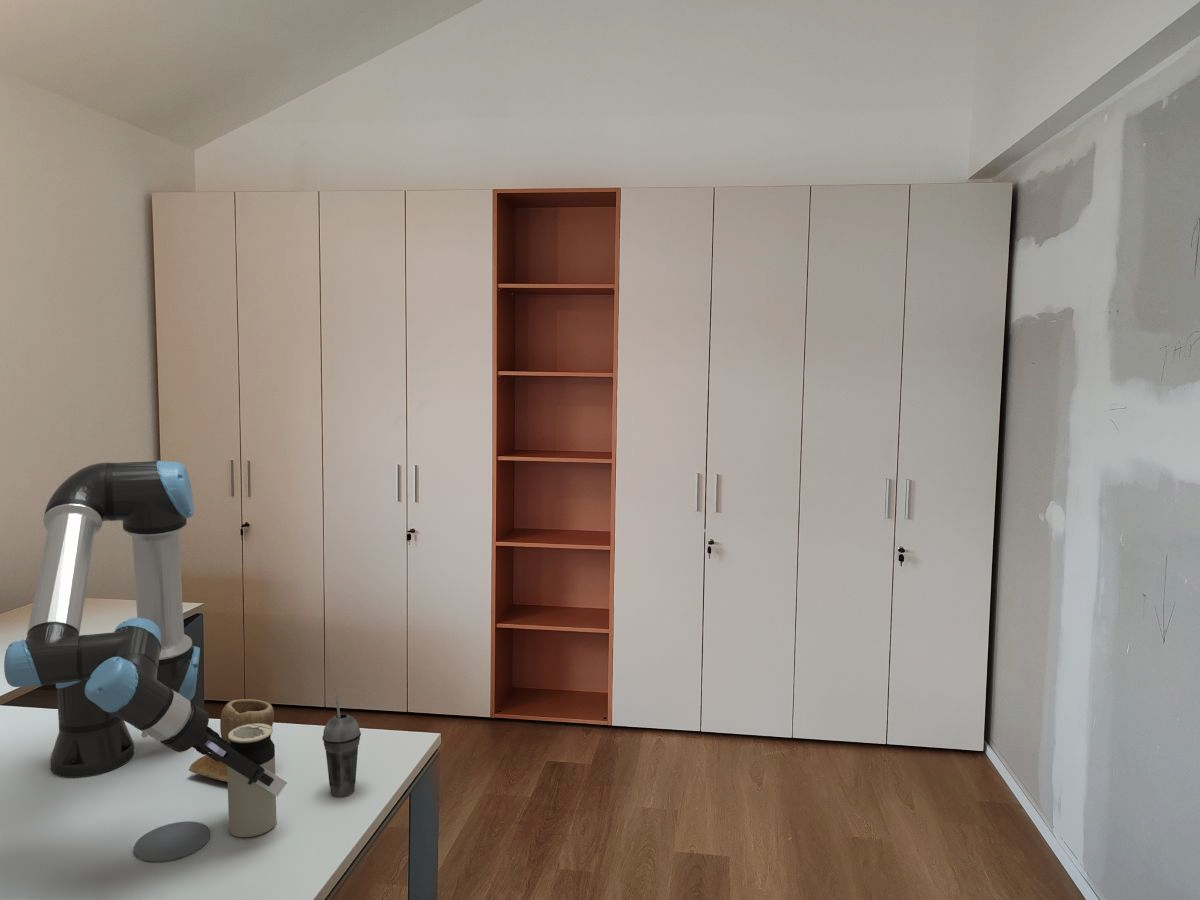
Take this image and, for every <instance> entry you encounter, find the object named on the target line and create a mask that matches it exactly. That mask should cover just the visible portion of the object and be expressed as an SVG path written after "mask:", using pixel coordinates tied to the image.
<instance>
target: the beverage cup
mask: <svg viewBox="0 0 1200 900" xmlns="http://www.w3.org/2000/svg"><path fill="white" fill-rule="evenodd" d="M335 704H336V713H337V714H336V715H335V716H333V717H331V718H330V719H329V720H328V722H327V723H326V724H325V726H324V729H323V734H322V737H321V738H322V741H323V747H324V750H325V755H326V765H327V766H326V767H327V774H328V784H329V791H330V796H332V797H334V798H345V797H344V796H346V797H349V796H351V795H353V794H354V793H353V792H355V787H356V780H357V778H356V777H357V766H358V755H359V753H358V751H359V745H360V740H361V735H362V733H361V728H360V725H359V723H358V721H357V719H356V718H354V716H351V715H349V714H346V713H341V711H340V709H341V708H340V701H339V695H335ZM350 794H351V795H350ZM348 795H349V796H348Z"/></svg>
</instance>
